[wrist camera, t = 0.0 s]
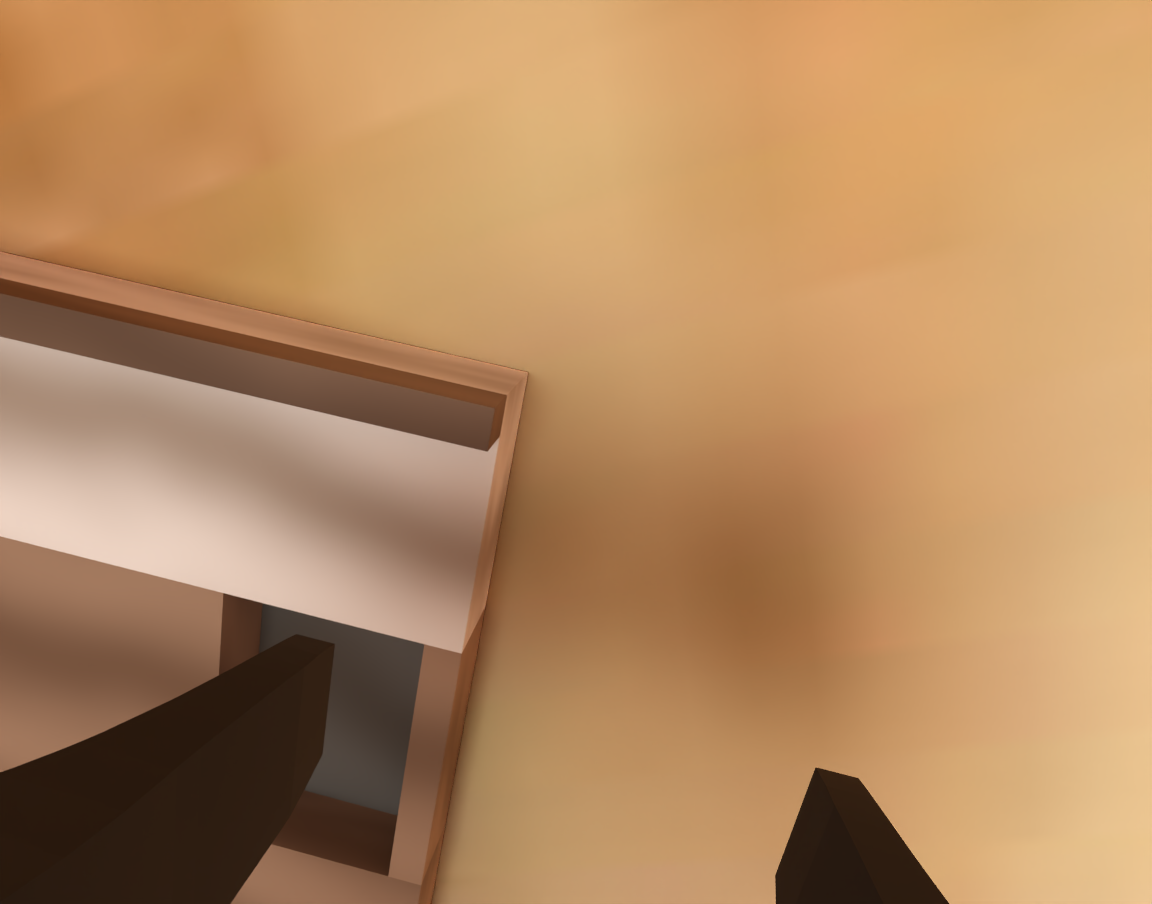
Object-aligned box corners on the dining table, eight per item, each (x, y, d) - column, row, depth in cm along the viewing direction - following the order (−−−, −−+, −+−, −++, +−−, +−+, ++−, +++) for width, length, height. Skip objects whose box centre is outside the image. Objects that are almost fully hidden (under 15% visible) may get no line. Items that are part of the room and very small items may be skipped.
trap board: (410, 1014, 28) (371, 1130, 24) (-150, 853, 29) (-262, 942, 26) (528, 372, 20) (494, 408, 17) (-244, 195, 22) (-423, 194, 18)
